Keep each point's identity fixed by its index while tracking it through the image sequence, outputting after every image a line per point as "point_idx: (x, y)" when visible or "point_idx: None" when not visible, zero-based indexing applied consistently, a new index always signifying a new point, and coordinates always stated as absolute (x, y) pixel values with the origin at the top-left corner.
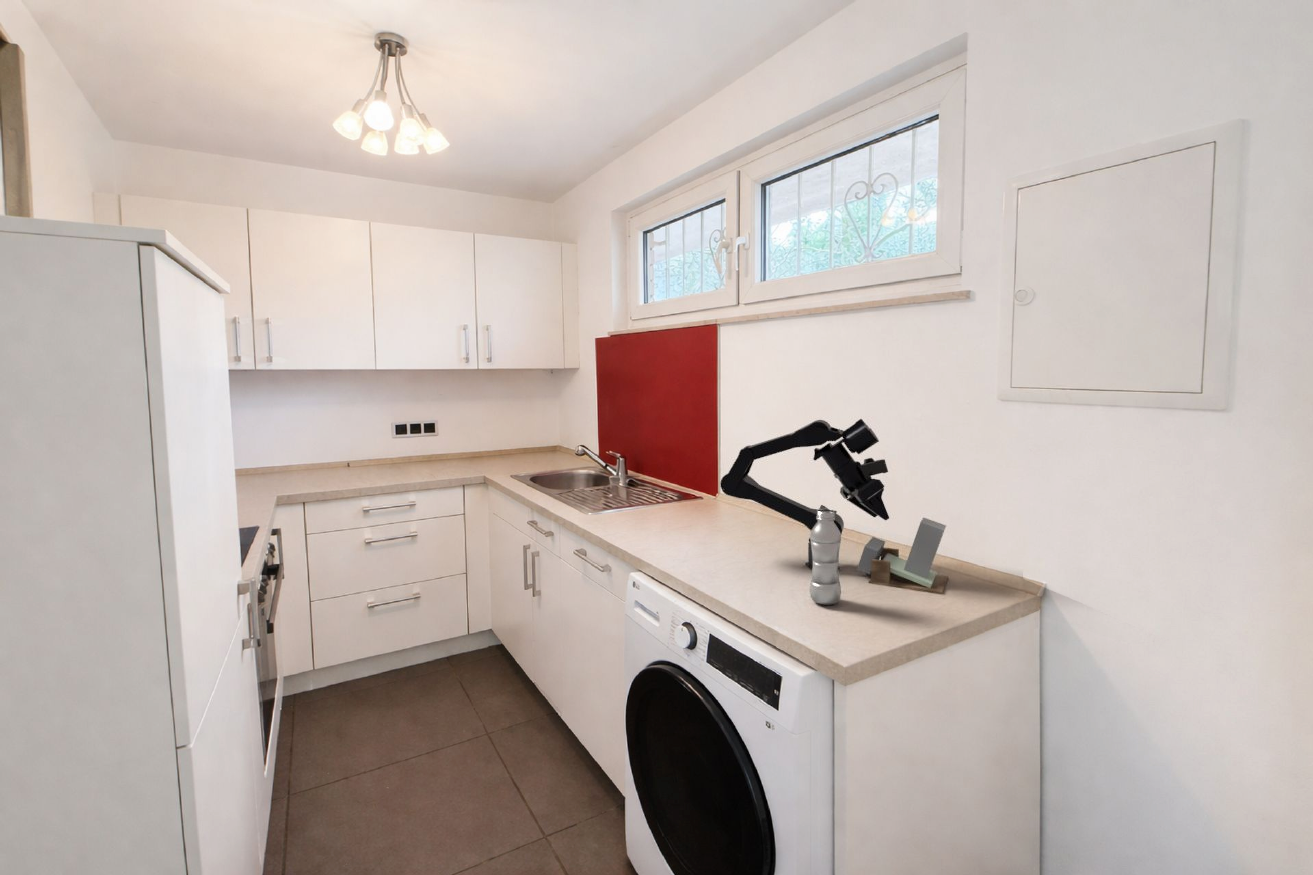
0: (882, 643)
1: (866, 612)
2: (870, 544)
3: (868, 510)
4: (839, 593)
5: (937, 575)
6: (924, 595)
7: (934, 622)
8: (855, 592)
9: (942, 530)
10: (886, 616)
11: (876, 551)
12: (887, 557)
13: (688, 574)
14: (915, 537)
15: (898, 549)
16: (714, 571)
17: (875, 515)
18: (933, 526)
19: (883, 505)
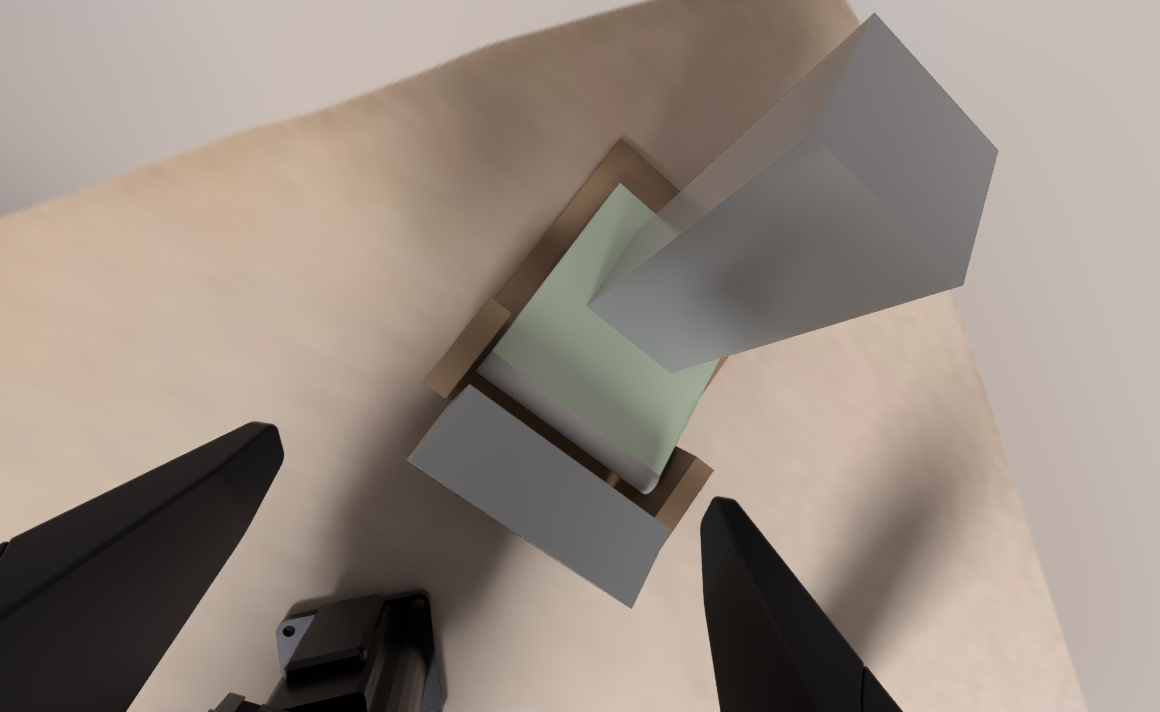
0: (1040, 647)
1: (868, 623)
2: (581, 546)
3: (201, 561)
4: None
5: (604, 179)
6: (772, 355)
7: (960, 443)
8: (702, 603)
9: (995, 158)
10: (903, 570)
11: (664, 532)
12: (556, 404)
13: None
14: (822, 325)
15: (494, 301)
16: None
17: (271, 451)
18: (972, 193)
19: (862, 677)
